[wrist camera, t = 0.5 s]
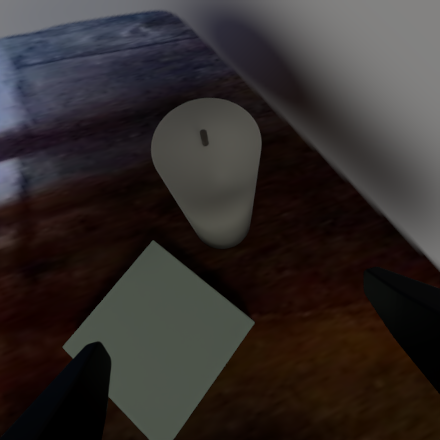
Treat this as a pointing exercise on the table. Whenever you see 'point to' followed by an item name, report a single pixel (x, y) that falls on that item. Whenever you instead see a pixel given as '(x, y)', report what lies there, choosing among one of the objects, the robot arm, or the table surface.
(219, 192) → the candle
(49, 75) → the table surface
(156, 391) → the stand
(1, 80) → the table surface
